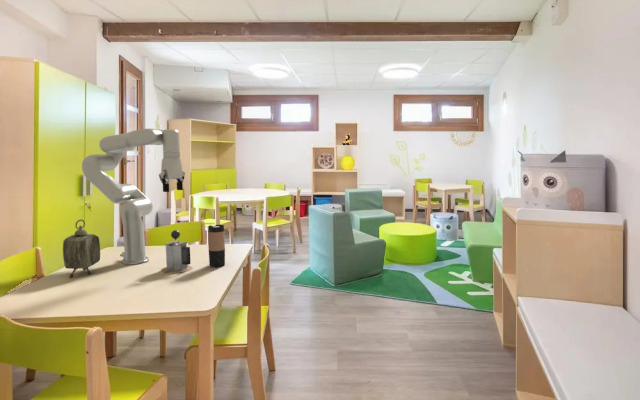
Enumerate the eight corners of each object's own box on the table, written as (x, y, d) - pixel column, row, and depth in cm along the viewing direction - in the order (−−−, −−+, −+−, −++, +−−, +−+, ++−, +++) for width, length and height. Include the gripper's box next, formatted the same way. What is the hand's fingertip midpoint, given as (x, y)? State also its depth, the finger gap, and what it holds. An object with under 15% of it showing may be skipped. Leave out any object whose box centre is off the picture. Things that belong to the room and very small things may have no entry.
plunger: (167, 263, 191) (165, 230, 189) (175, 260, 197) (174, 228, 195) (177, 264, 189) (176, 231, 187) (186, 261, 195) (184, 229, 193)
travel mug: (221, 269, 195) (220, 227, 193) (206, 268, 197) (204, 227, 194) (228, 265, 203) (226, 224, 200) (213, 264, 204) (212, 224, 202)
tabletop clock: (83, 269, 195) (79, 217, 192) (102, 269, 195) (99, 217, 192) (64, 278, 180) (60, 222, 177) (85, 278, 180) (81, 222, 177)
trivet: (154, 272, 189) (154, 271, 189) (175, 265, 202) (175, 263, 202) (179, 276, 184) (179, 274, 184) (198, 267, 197) (198, 266, 197)
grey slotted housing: (162, 270, 191) (161, 243, 189) (175, 265, 199) (174, 240, 197) (183, 273, 187) (182, 246, 185) (195, 268, 195) (194, 242, 193)
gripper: (177, 155, 208) (178, 189, 210) (152, 155, 191) (154, 192, 194) (189, 155, 205) (191, 189, 207) (165, 155, 189) (166, 192, 191)
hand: (173, 190), depth 200 cm, fingers open, 9 cm apart
